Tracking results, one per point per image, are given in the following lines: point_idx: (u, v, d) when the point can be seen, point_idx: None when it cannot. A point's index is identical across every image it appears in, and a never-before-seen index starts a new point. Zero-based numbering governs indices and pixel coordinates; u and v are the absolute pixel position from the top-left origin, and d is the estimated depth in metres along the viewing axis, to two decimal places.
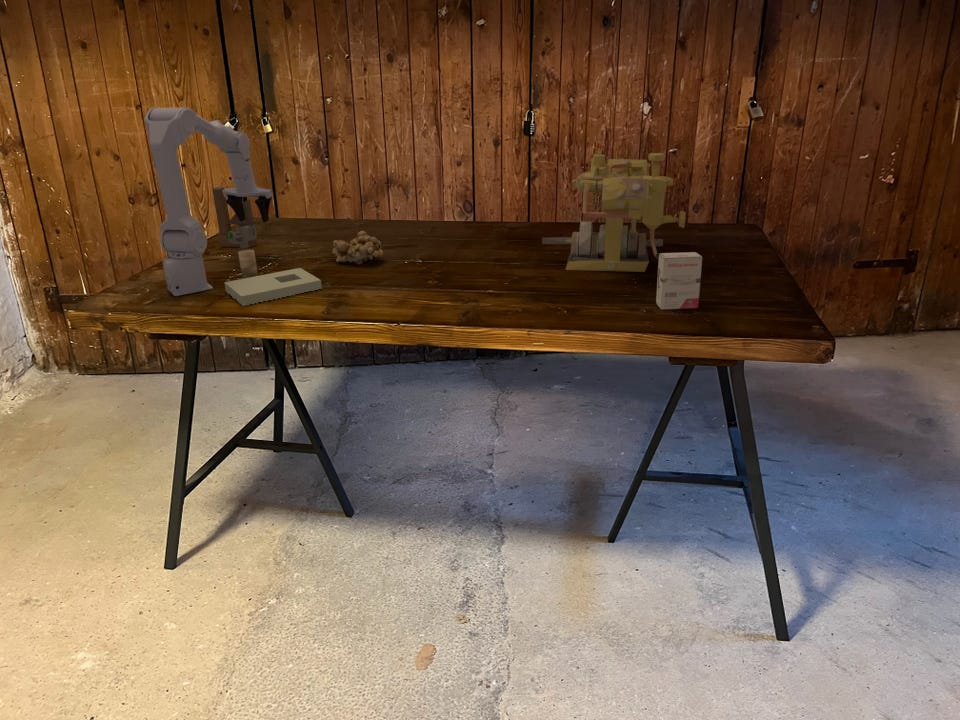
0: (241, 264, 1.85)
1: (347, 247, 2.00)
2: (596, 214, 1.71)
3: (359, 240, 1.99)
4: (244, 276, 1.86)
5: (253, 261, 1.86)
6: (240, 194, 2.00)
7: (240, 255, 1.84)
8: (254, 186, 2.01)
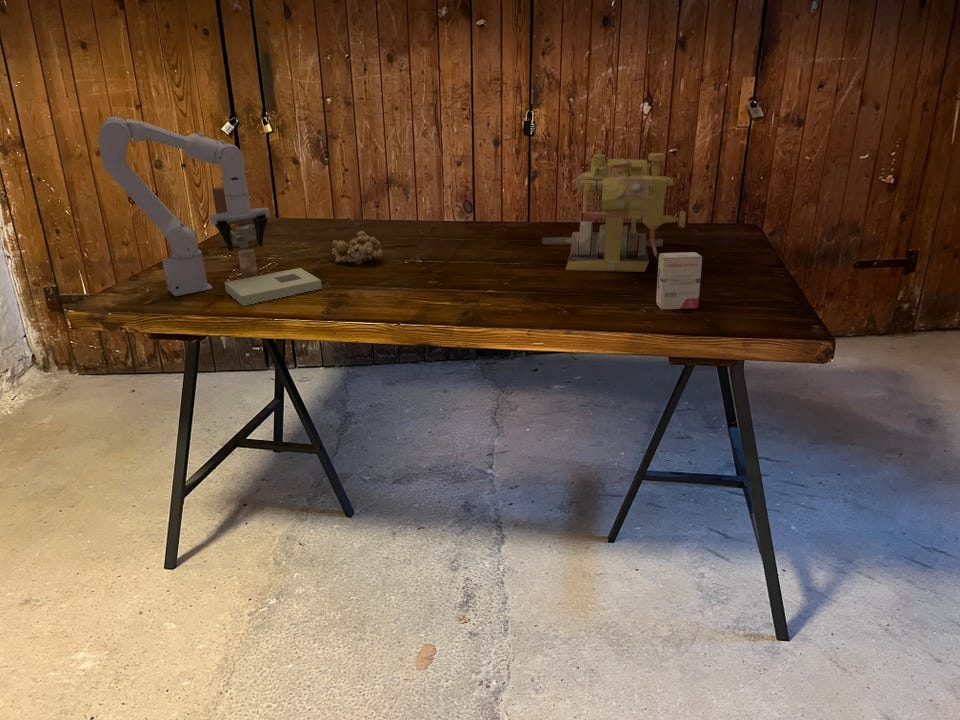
0: (241, 264, 1.85)
1: (346, 247, 2.00)
2: (596, 214, 1.71)
3: (358, 240, 1.99)
4: (244, 276, 1.86)
5: (253, 261, 1.86)
6: None
7: (240, 255, 1.84)
8: (227, 209, 1.79)
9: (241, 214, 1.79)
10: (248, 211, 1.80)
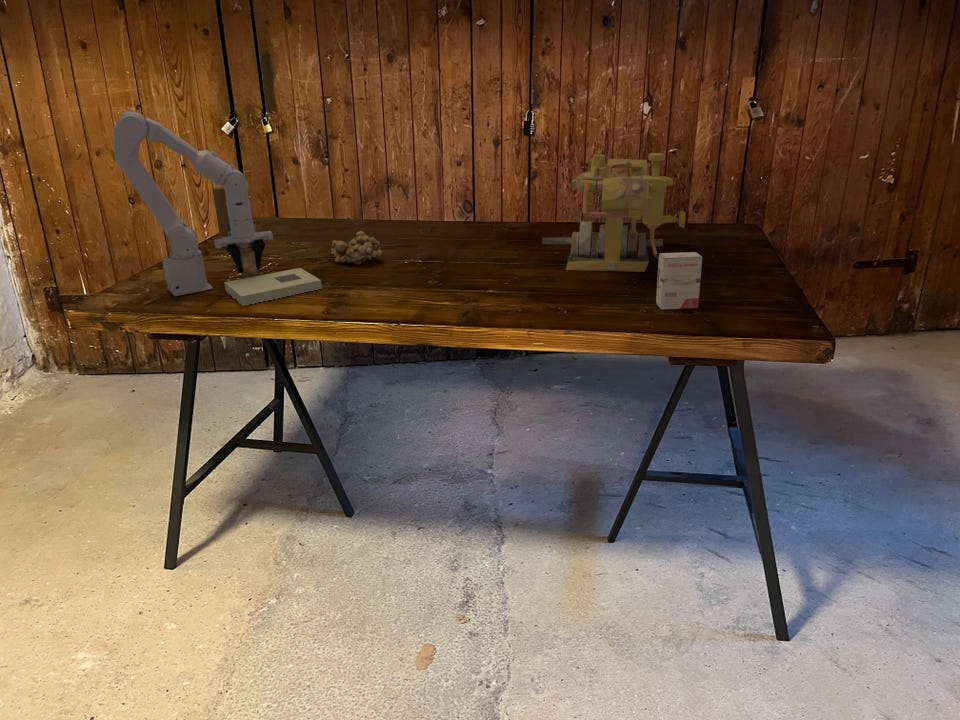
0: None
1: (346, 247, 1.99)
2: (596, 214, 1.71)
3: (358, 240, 1.99)
4: (244, 276, 1.86)
5: (253, 261, 1.86)
6: None
7: (240, 255, 1.84)
8: (232, 233, 1.82)
9: (245, 238, 1.81)
10: (252, 235, 1.83)
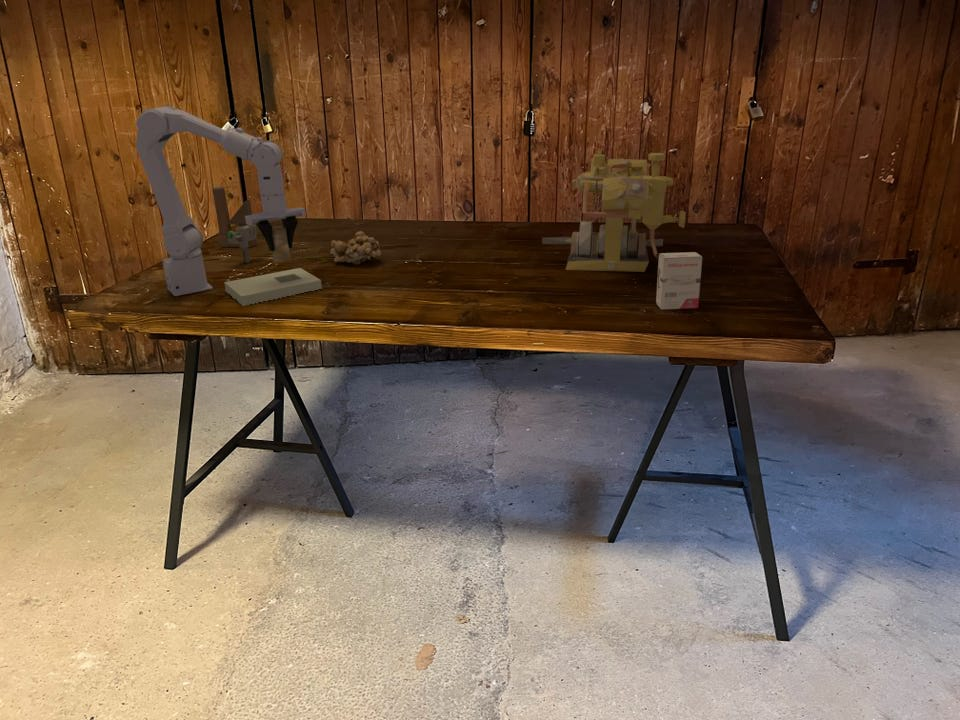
0: (273, 242, 1.77)
1: (345, 247, 1.99)
2: (596, 214, 1.71)
3: (357, 240, 1.99)
4: (276, 254, 1.78)
5: (285, 238, 1.77)
6: None
7: (272, 232, 1.76)
8: (263, 209, 1.74)
9: (277, 214, 1.73)
10: (284, 211, 1.74)
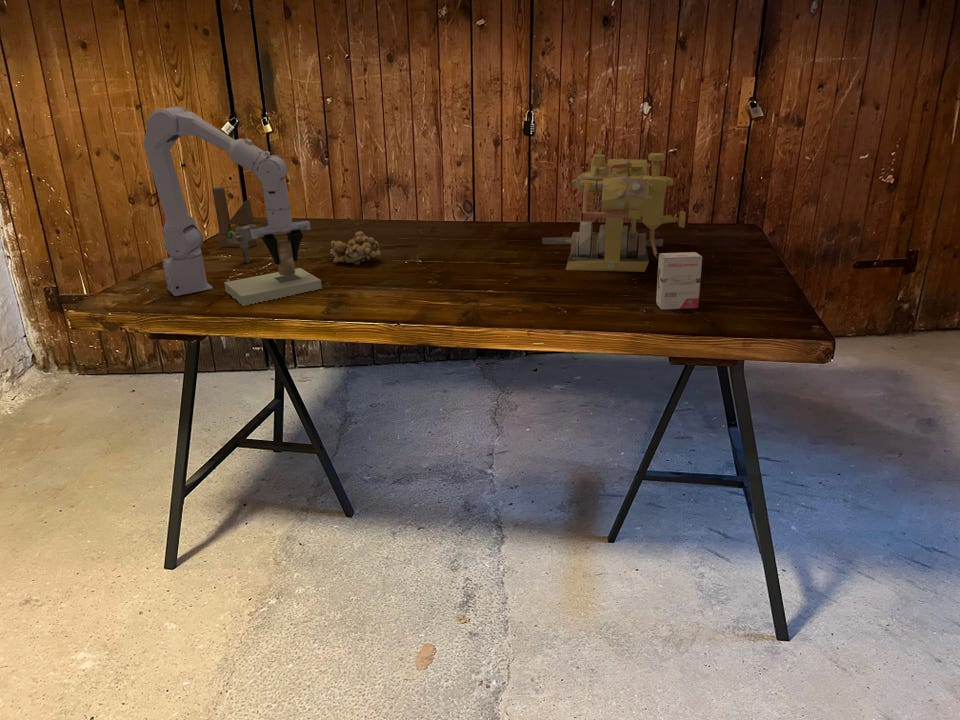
0: (278, 255, 1.78)
1: (345, 247, 1.99)
2: (596, 214, 1.71)
3: (357, 240, 1.99)
4: (281, 268, 1.79)
5: (290, 252, 1.78)
6: None
7: (277, 246, 1.77)
8: (268, 223, 1.74)
9: (283, 228, 1.73)
10: (289, 225, 1.75)
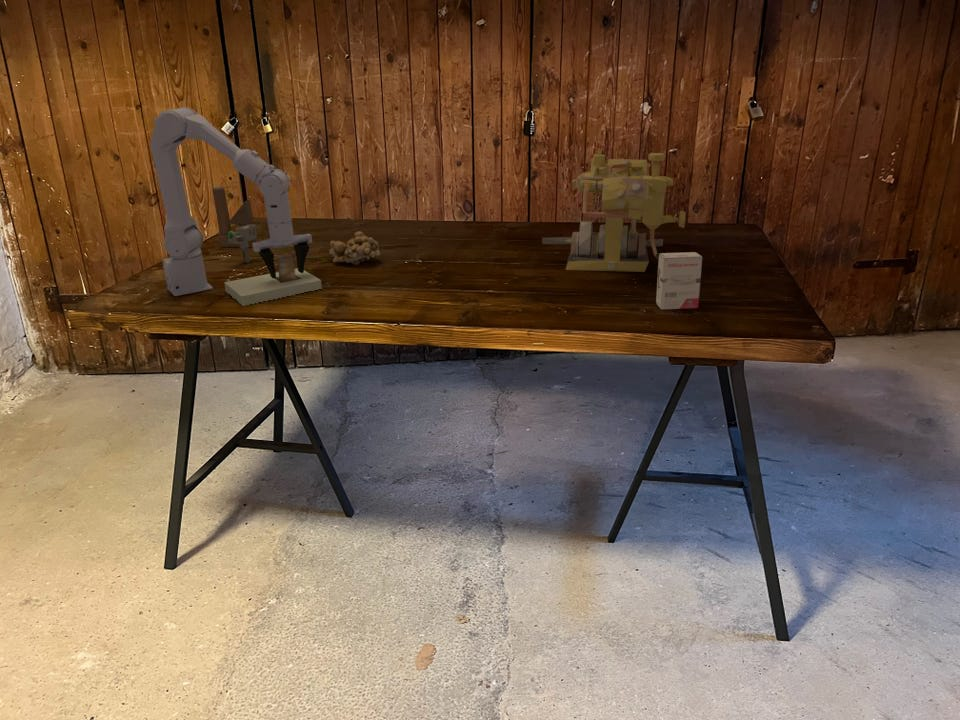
0: (280, 270, 1.79)
1: (344, 248, 1.99)
2: (596, 214, 1.71)
3: (356, 241, 1.99)
4: None
5: (292, 267, 1.80)
6: None
7: (279, 261, 1.78)
8: (270, 236, 1.76)
9: (284, 242, 1.75)
10: (291, 238, 1.76)
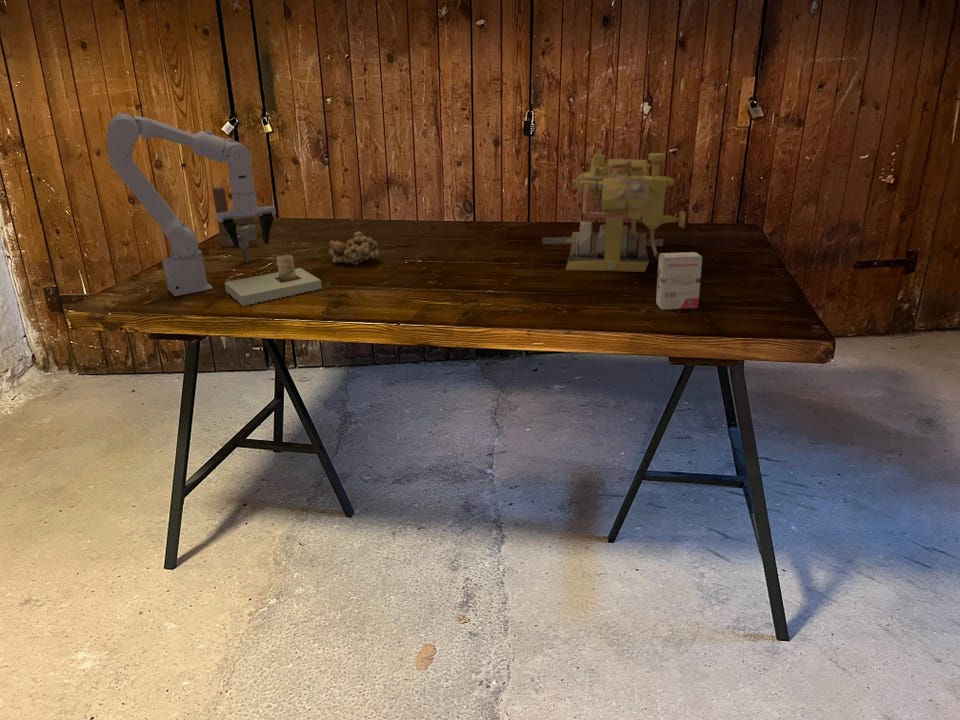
0: (280, 270, 1.79)
1: (343, 248, 1.99)
2: (596, 214, 1.71)
3: (355, 241, 1.99)
4: None
5: (292, 267, 1.80)
6: None
7: (279, 261, 1.78)
8: (234, 207, 1.80)
9: (247, 212, 1.79)
10: (254, 209, 1.81)
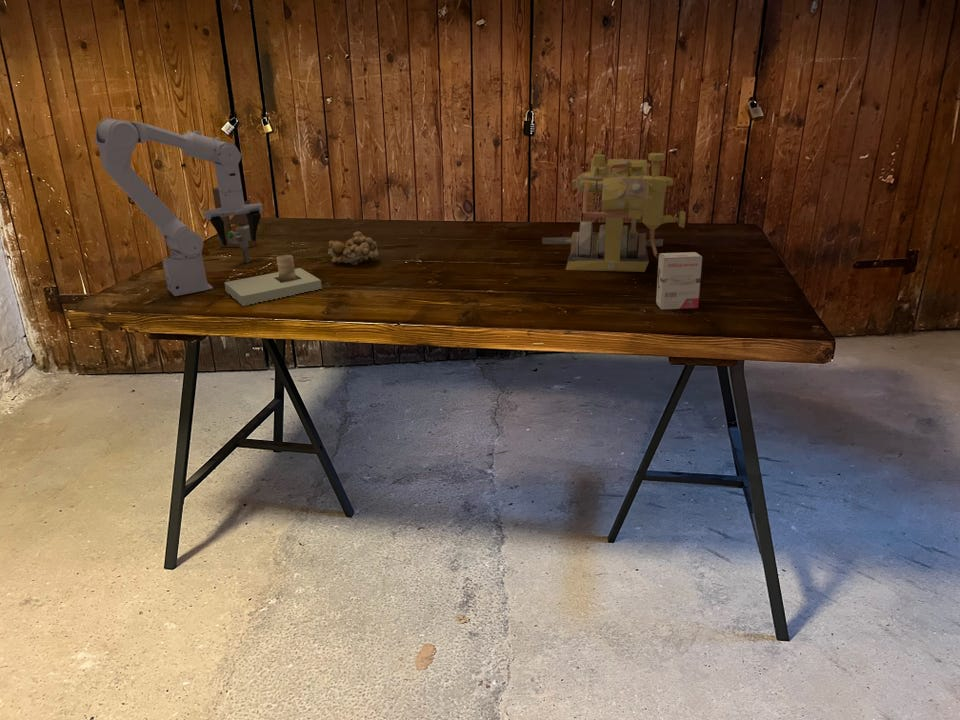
0: (280, 270, 1.79)
1: (342, 248, 1.99)
2: (596, 214, 1.71)
3: (354, 241, 1.99)
4: None
5: (292, 267, 1.80)
6: None
7: (279, 261, 1.78)
8: (221, 205, 1.83)
9: (235, 209, 1.82)
10: (242, 207, 1.84)
